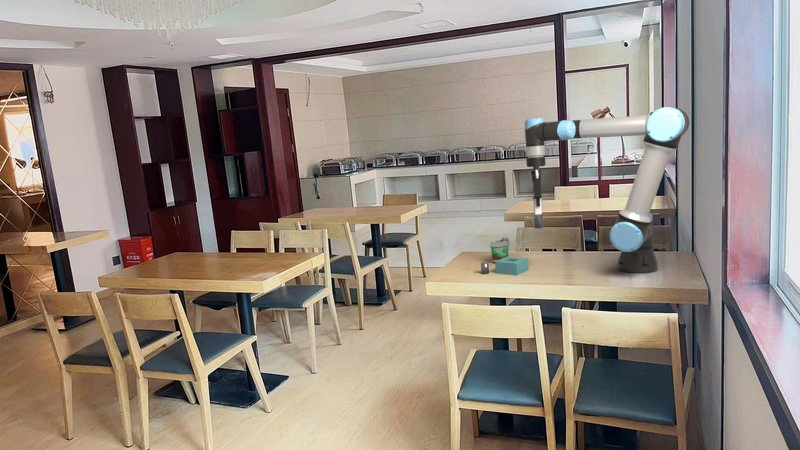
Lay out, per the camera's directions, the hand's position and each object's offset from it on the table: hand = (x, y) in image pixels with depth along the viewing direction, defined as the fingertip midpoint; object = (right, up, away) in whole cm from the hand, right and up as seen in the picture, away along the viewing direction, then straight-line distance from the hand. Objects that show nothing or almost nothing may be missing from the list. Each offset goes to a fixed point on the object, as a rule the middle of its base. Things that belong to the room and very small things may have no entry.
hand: (538, 213), depth 231 cm
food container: (-10, -22, +25) cm, 35 cm away
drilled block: (-10, -25, +6) cm, 27 cm away
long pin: (0, -6, +1) cm, 6 cm away
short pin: (-21, -25, +6) cm, 34 cm away
